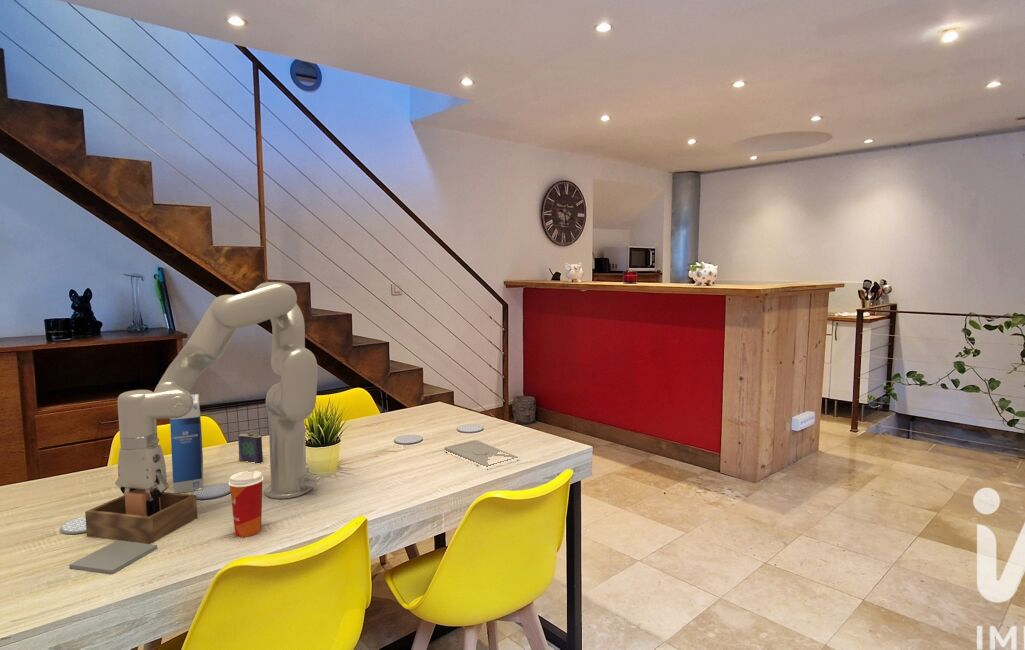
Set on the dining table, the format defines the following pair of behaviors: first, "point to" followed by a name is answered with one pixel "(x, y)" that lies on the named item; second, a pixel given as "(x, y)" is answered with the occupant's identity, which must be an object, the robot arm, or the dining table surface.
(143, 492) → the block
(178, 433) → the string lights box
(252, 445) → the flask
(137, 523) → the crate
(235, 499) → the paper cup
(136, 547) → the pad
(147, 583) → the dining table surface
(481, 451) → the envelope
